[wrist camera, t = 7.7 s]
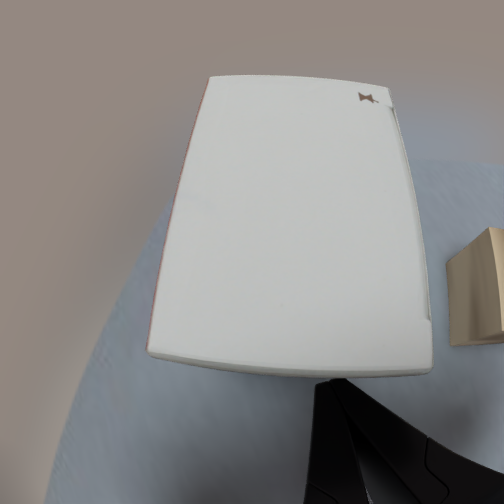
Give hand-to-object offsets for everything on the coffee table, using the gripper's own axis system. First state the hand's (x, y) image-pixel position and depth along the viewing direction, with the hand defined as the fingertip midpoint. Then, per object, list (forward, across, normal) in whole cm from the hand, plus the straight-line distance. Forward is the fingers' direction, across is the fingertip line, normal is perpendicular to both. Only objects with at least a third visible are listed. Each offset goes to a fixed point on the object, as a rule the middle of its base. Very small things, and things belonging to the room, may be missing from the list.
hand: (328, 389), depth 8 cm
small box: (+8, 0, +2) cm, 8 cm away
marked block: (+5, -12, +4) cm, 14 cm away
